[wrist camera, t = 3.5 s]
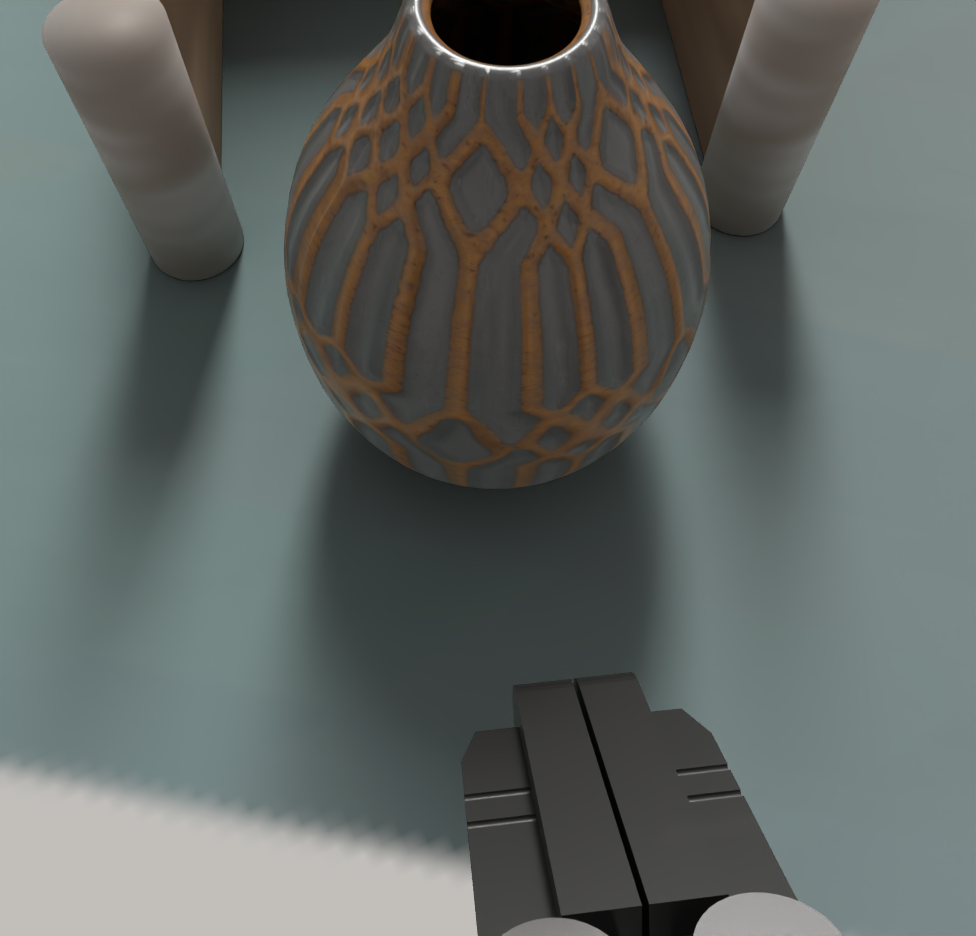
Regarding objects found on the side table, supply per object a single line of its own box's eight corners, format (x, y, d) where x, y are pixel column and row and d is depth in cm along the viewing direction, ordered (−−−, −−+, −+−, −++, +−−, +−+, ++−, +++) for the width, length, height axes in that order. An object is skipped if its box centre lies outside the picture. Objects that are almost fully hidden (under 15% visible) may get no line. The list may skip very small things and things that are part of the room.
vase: (728, 444, 18) (928, 100, 10) (412, 600, 17) (356, 344, 9) (557, 198, 21) (610, -235, 13) (270, 316, 19) (125, -87, 11)
